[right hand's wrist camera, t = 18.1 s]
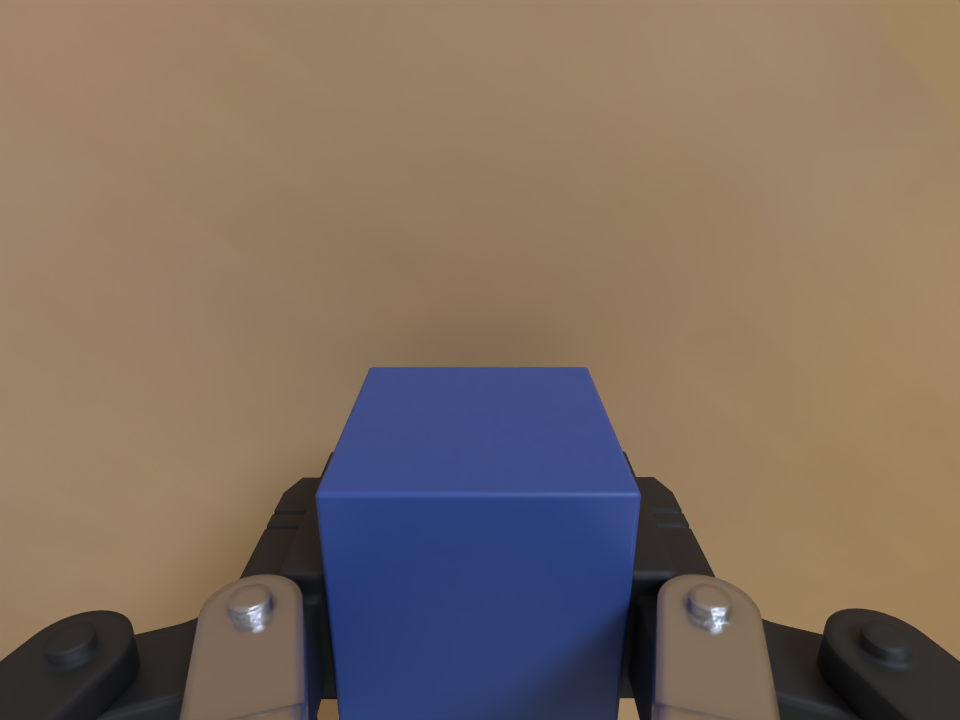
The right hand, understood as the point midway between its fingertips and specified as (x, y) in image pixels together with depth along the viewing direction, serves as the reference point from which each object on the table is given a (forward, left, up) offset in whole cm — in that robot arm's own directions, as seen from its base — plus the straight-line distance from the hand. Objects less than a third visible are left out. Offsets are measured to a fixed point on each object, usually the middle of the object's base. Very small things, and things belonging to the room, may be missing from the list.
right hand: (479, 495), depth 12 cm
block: (0, 0, 0) cm, 0 cm away
